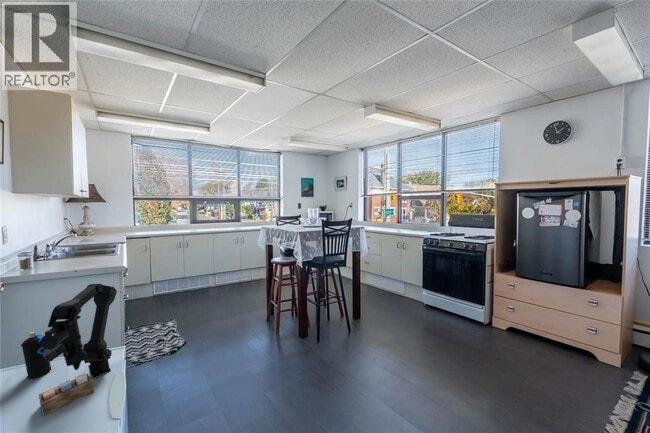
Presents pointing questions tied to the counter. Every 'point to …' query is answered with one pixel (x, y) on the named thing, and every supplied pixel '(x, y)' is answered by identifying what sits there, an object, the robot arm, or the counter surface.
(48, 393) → the key terracotta
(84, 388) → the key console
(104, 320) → the robot arm
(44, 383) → the counter surface
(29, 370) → the aerosol can
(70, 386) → the key blue
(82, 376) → the key cream
